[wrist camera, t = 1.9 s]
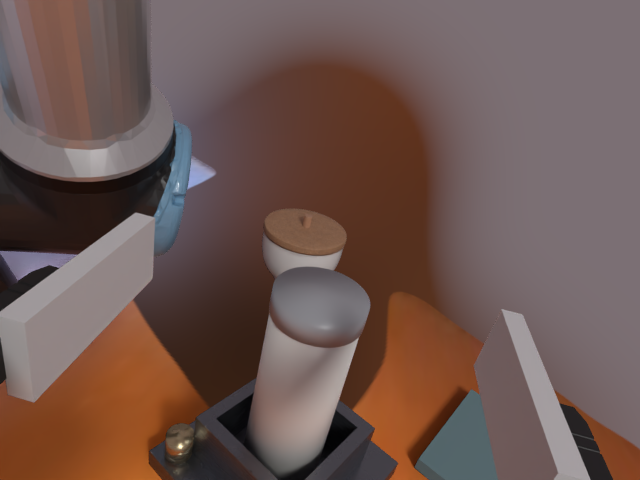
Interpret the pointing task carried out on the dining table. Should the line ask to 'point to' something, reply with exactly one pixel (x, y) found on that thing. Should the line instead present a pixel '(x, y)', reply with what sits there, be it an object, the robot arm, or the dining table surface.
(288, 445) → the cylinder
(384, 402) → the dining table surface
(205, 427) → the housing
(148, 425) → the dining table surface
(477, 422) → the mat
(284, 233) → the lidded jar
